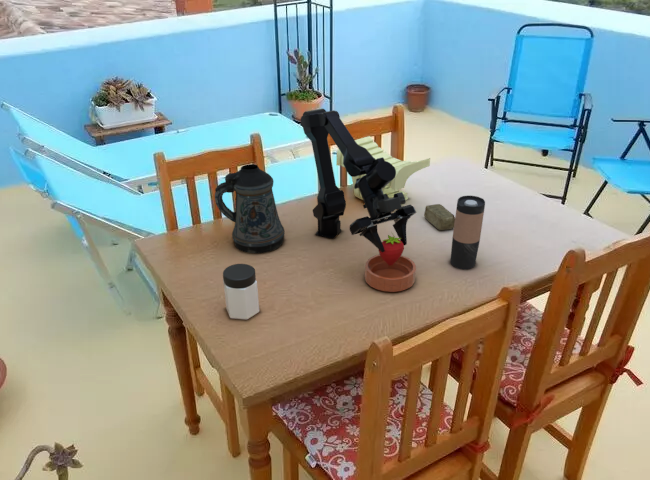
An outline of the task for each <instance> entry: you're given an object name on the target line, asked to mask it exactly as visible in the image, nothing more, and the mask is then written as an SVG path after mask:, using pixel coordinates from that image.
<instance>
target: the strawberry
mask: <svg viewBox="0 0 650 480" xmlns="http://www.w3.org/2000/svg"><path fill="white" fill-rule="evenodd" d="M391 234H392V235H393V236H391V235H390V234H387V238H386V239H382V241H381V242H382V244H383V247H384V250H385V251H384V252H381V251H380V250H379V249H378V253H379V254H380V256H381V257H382V259H383V260H384V261H385V262H386V263H387V264H388V265H390V266H391V265H393V264H394V263H395V262H396V261H397V260H398V259H399V257H400V256H401V255H402V256H403V253H404V250H405V246H404V244H403V242H402V241H401V240H400V239H401V238H399V237H395V234H394V233H393V232H391Z"/></svg>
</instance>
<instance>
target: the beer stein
mask: <svg viewBox="0 0 650 480" xmlns="http://www.w3.org/2000/svg"><path fill="white" fill-rule="evenodd" d="M273 187H274V178H273V177H272V175H270V173H268V172H266V171H265V170H262V169H261V168H260V167H259V166H258V165H257V164H253V163H252V164H251V163H249V164H244V165H242V166H241V167H240V169H239V170H237V171H236V172H232V173H231V172H230V173H227V174H226V175H225V177H224V182H221V183H219V184H218V185H217V186H216V188H215V190H214V191H215V193H214V202H215V205H216V207H217V208H218V210H219V211H220V213H221V214H222V215H223V216H224V217H225V218H227V219H228V220H230V221H231V222H233V223H234V226H233V229H232V231H231V237H232V238H231V239H232V241H233V242H234V246H235V248H236V249H238V250H239V251H240V252H243V253H246V254H264V253H269V252H273V251H275V250H277V249H279V248H280V247H281V246H282V245H283V242H284V239H285V238H284V237H285V233H286V232H285V228H284V226H283V224H282V222H281V219H280V216H279V213H278V209H277V205H276V199H275V196H274V191H273ZM234 192H235V211H232V210H231V209H230V208H229V207H228V206H227V205H226V203H225V202H224V199H223V195H225V194H226V193H231V194H232V193H234Z"/></svg>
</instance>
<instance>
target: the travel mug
mask: <svg viewBox="0 0 650 480" xmlns="http://www.w3.org/2000/svg"><path fill="white" fill-rule="evenodd" d="M456 201H457V202H456V208H455V209H456V210H455V215H454V217H455V223H454V228H453V232H452V238H451V239H452V240H451V249H450V251H451V252H450V264H451V266H452V267H454V268H456V269H460V270H471V269H473V268H474V267H475V266H476V262H477V256H478V251H479V246H480V241H481V237H482V228H483V221H484V215H485V207H486V201H485V199H484V198H482V197H479V196H476V195H462V196H460V197H458V198H457V200H456Z"/></svg>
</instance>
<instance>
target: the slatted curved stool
mask: <svg viewBox="0 0 650 480" xmlns="http://www.w3.org/2000/svg"><path fill="white" fill-rule="evenodd" d="M354 140H355V142H356V143H357V144H358V145H359V146H362V147H364V148H366V149H367V151H368V152H369V153H370V154H371V155H372V156H373V157H374V158H375V159H378V158H382V157H383V158H384V160H385V161H387V162H389V163H390V164H392V165H393V166H394V167H395V170H396V176H395V178H394V179H393V180H392V181H391V182H390V183H388V184H387V185H386V186H385V187H384V188H382V191H383V194H387V195H388V197H389V198H393V197H394V194H396V193H400V192H402V193H403V195H404V197H405V201H406V200H408V199H409V196H408V193H407V192H406V191H404V190H403V189H404V188H405V187H406V183H407V181H408V179H409V178H410V177H411V176H412V175H414V174H415V173H417V172H419V171H421V170H423V169H425V168H428V167H430V165H431V157H429V158H426V159H422V160H418V161H416V160H415V161H409V160H408V161H406V160H401V159H398V158H396V157H393V156H392V155H390V154H389V153H387V152H386V151H384V149H382V148H381V147H380V146H379V145H378V143H376V141H374V139H373V138H372V137H371V136H370V135H368V136H365V137H361V138H358V139H354ZM337 148H338V147H337ZM343 158H344V157H343V155H342V153H341V151H340V150H339V148H338V149H337V151H336V167H337V166H339V167H342V168H345V166H344V164H343ZM365 175H366V174H364V175H360V176H356V177H353V176H352V177H351V181H352V187H353V195H354V197H356V198H358V199H360V200H362V201H364V200H363V198H362V195H361V193H360V190H359V188H357V189H355V188H354V185H355V183H356V179H358V178H362V177H363V176H365ZM402 190H403V191H402Z"/></svg>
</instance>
